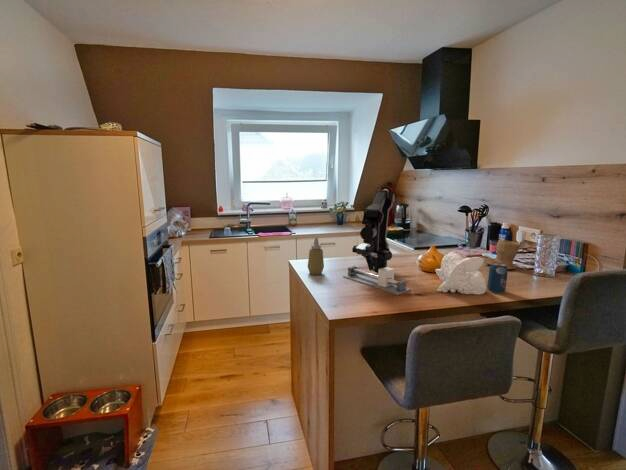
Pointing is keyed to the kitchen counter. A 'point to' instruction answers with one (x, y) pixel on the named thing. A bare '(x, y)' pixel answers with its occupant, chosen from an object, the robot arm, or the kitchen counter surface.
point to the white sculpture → (461, 274)
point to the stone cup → (505, 253)
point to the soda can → (497, 277)
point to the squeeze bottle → (315, 258)
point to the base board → (375, 283)
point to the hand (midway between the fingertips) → (370, 270)
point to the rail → (400, 284)
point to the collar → (385, 276)
